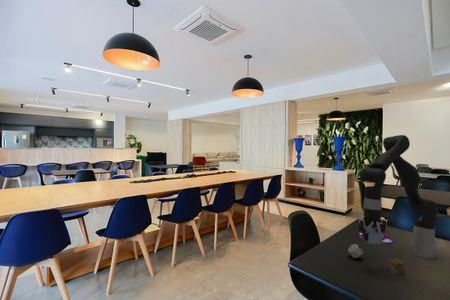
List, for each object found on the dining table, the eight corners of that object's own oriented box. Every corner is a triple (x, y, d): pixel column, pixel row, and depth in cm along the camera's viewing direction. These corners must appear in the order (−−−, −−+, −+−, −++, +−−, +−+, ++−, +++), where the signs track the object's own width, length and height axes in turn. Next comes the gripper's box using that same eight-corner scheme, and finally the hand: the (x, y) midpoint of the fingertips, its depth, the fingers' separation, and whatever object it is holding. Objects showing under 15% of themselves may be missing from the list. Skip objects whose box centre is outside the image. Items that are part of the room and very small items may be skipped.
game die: (358, 265, 123) (369, 256, 117) (343, 258, 124) (353, 249, 118) (357, 252, 130) (366, 243, 124) (342, 245, 131) (351, 236, 125)
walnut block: (396, 268, 114) (396, 258, 114) (403, 273, 109) (404, 263, 109) (388, 268, 114) (388, 258, 114) (395, 273, 109) (395, 263, 109)
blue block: (373, 239, 114) (373, 229, 114) (380, 243, 108) (381, 233, 108) (362, 239, 114) (363, 229, 114) (370, 243, 108) (370, 233, 108)
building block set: (385, 248, 139) (385, 241, 139) (352, 236, 156) (352, 230, 156) (401, 240, 152) (401, 233, 152) (369, 230, 169) (369, 224, 169)
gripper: (380, 205, 115) (380, 237, 115) (354, 205, 115) (353, 237, 115) (392, 209, 107) (391, 243, 107) (363, 209, 107) (362, 243, 107)
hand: (371, 240), depth 111 cm, fingers closed on blue block, 5 cm apart
